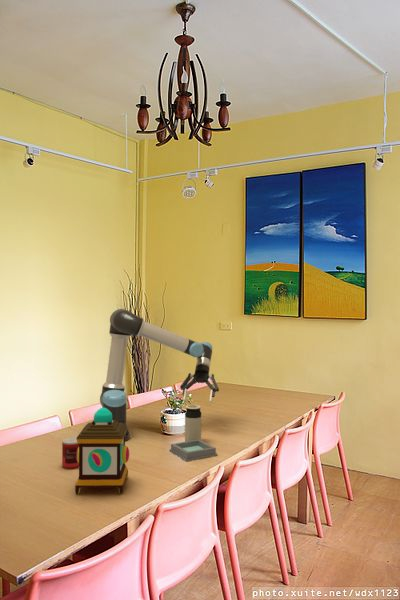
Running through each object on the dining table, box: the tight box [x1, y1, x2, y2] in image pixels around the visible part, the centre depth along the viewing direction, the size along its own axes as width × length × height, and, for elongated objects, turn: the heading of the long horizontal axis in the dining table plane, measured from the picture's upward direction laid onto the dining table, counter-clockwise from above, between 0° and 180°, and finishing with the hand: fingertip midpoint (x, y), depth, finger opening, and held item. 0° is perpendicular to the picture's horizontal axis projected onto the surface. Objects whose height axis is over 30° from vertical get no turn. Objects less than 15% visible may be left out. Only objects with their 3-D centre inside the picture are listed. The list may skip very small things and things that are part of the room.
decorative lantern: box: [74, 407, 130, 495], centre depth 192 cm, size 20×20×30 cm
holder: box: [169, 439, 218, 462], centre depth 231 cm, size 16×16×4 cm
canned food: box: [61, 437, 79, 470], centre depth 214 cm, size 8×8×11 cm
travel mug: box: [184, 404, 202, 442], centre depth 247 cm, size 8×8×18 cm
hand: (197, 401), depth 258 cm, fingers open, 13 cm apart
